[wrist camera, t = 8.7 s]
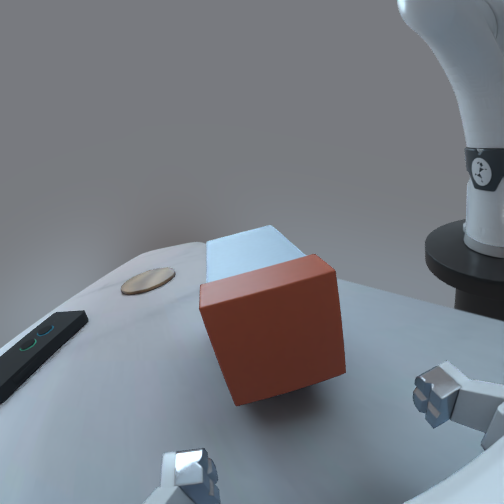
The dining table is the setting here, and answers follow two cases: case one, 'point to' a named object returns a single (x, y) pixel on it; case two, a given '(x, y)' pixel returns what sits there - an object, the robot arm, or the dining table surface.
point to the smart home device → (37, 349)
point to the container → (270, 315)
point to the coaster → (148, 280)
